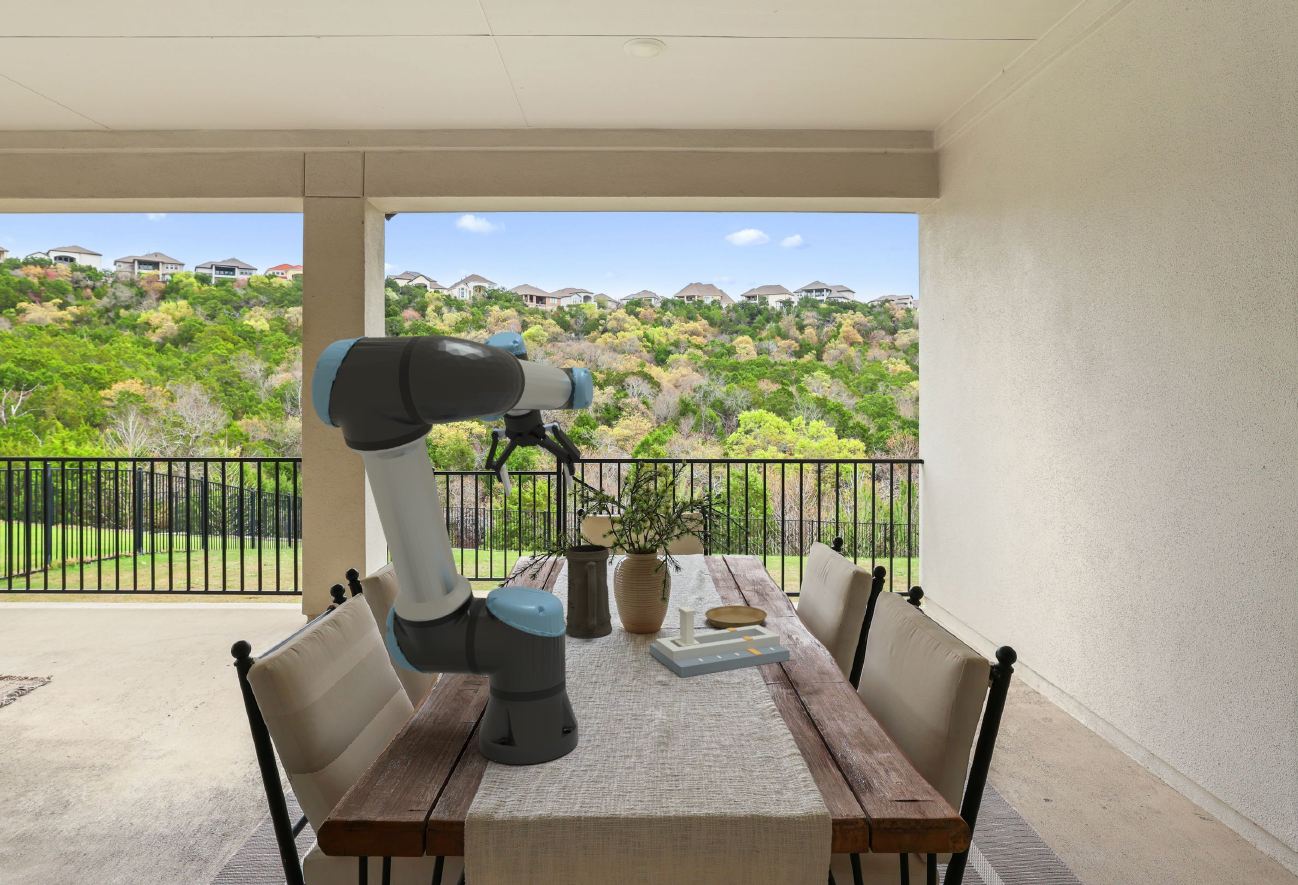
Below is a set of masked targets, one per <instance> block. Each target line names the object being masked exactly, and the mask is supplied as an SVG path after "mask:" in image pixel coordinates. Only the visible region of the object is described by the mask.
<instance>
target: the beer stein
mask: <svg viewBox="0 0 1298 885" xmlns="http://www.w3.org/2000/svg"><path fill="white" fill-rule="evenodd" d="M609 558H610V553H609V548H608V546H605V545H604V544H603V545H601V544H579V545H573V546H570V547H568V548H566V553H565V559H566V560H567V604H566V605H567V606H566V607H567V610H566V611H567V612H566V613H567V614H566V617H565V619H566V622H567V623H566V631H565V635H568V636H569V637H571V638H576V639H577V638H578V639H595V638H602V637H605V636H609V634H611V633H612V632H613V626H612V623H611V621H612V620H611V619H612V615H611V612H610V600H609V599H610V598H609V597H610V596H609V587H608V560H609Z"/></svg>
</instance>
